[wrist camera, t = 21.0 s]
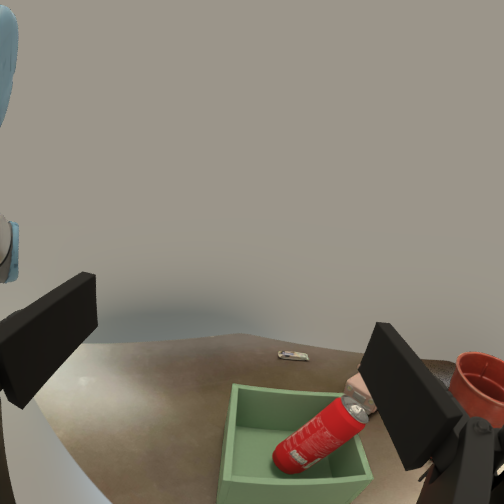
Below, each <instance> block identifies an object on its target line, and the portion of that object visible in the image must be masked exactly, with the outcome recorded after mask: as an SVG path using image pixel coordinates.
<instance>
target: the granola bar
mask: <svg viewBox="0 0 504 504" xmlns="http://www.w3.org/2000/svg"><path fill="white" fill-rule="evenodd" d="M278 354H279V357H281V358H284V359H294V360H309V358H308V357H307V354H304V353H297V352H287V351H281V352H280V351H278Z"/></svg>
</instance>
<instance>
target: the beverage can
mask: <svg viewBox="0 0 504 504" xmlns="http://www.w3.org/2000/svg"><path fill="white" fill-rule="evenodd" d="M368 421H369V419H368V416H367V414H366V412H365V411H364V409H363V408H362V407H361V406H360V404H359V403H358V402H356V401H355V400H354V399H353V398H351V397H350V396H348V395H342V396H341V397H339V398H336V399H335V400H334V401H333V402H331V403H330V404H329V405H328V406H327V407H326V408H324V409H323V410H322V411H321V412H320V413H318V414H317V415H316V416H315V417H314V418H312V419H311V420H310V421H309V422H307V423H306V424H305V425H303V426H302V427H301V428H300V429H298V430H297V431H296V432H294V433H293V434H292V435H290V436H289V437H288V438H286V439H285V440H283V441H282V442H281V443H279V444H278V445H277V446H276V448H275V450H274V451H273V453H272V459H273V462H274V464H275V465H276V467H277V468H278V469H279V470H280V471H281V472H283V473H285V474H288V475H292V474H296V473H301V472H303V471H305V470H306V469H308V468H309V467H311V466H313V465H314V464H316V463H317V462H319V461H320V460H322V459H323V458H325V457H326V456H328V455H329V454H330V453H332V452H333V451H335V450H336V449H338V448H339V447H340V446H342V445H343V444H344V443H346V442H347V441H348V440H350V439H351V438H352V437H354V436H355V435H356V434H357V433H359V432H360V431H361V430H362V429H364V427H365V425H366V424H367V423H368Z"/></svg>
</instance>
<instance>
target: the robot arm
mask: <svg viewBox="0 0 504 504" xmlns="http://www.w3.org/2000/svg"><path fill="white" fill-rule="evenodd" d="M17 50H18V26H17V21H16V17H15V15H14V14H13V13H12V12H11V10H10V9H9V8H8V7H6V6H3V5H0V127H1V124H2V122H3V120H4V117H5V114H6V111H7V107H8V103H9V99H10V95H11V90H12V84H13V82H12V78H13V74H14V72H15V68H16V60H17ZM18 243H19V226H18V224H17V223H16V222H12V221H9V222H7V220H6V219H5V217H4V216H3V215H2V214H1V213H0V283H7V282H12V281H15V280H16V279H17V278H18ZM97 326H98V321H97V305H96V275H95V274H90V273H87V272H81V273H79V274H78V275H76V276H74V277H73V278H71V279H70V280H68V281H66V282H65V283H63V284H61V285H60V286H58V287H57V288H55V289H53V290H52V291H50V292H49V293H47V294H46V295H44V296H43V297H41V298H39V299H38V300H37V301H35V302H33V303H32V304H30V305H29V306H27V307H26V308H24V309H21V310H18V311H15V312H14V313H12V314H11V315H9V316H8V317H7V318H6V319H3V320H2V321H0V391H1V390H2V389H3V390H4V392H5V394H6V397H7V399H8V401H9V402H11V403H12V404H14V405H16V406H17V407H19V408H21V409H22V410H23V408H24V407H25V406H26V405H27V404H28V403H29V401H30V400H31V399H32V398H33V397H34V396H35V394H36V393H37V392H38V391H39V390H40V389H41V387H42V386H43V385H44V384H45V383H46V382H47V381H48V379H49V378H50V377H51V376H52V375H53V374H54V373H55V372H56V370H57V369H58V368H59V367H60V366H61V365H62V364H63V363H64V362H65V361H66V359H67V358H68V357H69V356H70V355H71V354H72V353H73V352H74V351H75V350H76V349H77V348H78V347H79V345H80V344H81V343H82V342H83V341H84V340H85V339H86V338H87V337H88V336H89V335H90V334H91V333H92V332H93V331H94V330H95V329H96V328H97ZM358 371H359V373H360V375H361V377H362V379H363V381H364V383H365V385H366V387H367V389H368V391H369V393H370V395H371V397H372V399H373V401H374V403H375V405H376V407H377V410H378V412H379V414H380V416H381V418H382V420H383V422H384V424H385V426H386V429H387V431H388V433H389V435H390V437H391V439H392V442H393V444H394V446H395V448H396V450H397V453H398V455H399V457H400V459H401V461H402V464H403V466H404V468H405V471H409V470H413V469H417V468H421V467H422V466H423V465H424V464H425V463H426V462H427V461H428V460H429V459H430V457H431V458H432V460H433V462H434V463H433V464H432V465H431V466H430V468H429V469H428V470H427V471H426V472H425V473H424V474H423V475H422V476H421V477H420V478H419V480H418V481H419V482H420V481H421V480H422V479H423V478H424V477H426V479H425V482H424V485H423V488H422V490H421V493H420V496H419V498H418V501H417V503H416V504H504V471H503V472H502V473H501V474H500V475H498V474H497V470H498V469H499V468H500V467H501V466H502V465H503V464H504V425H503V426H502V427H501V428H493V427H492V425H491V424H490V423H489V422H488V421H487V420H486V419H484V418H482V417H477V416H475V417H471V418H470V417H469V415H468V414H467V413H466V411H465V410H464V409H463V407H462V406H461V405H460V403H459V402H458V401H457V400H456V398H455V397H453V394H452V393H451V392H450V391H448V390H449V389H448V388H447V387H446V386H445V384H444V383H443V382H442V381H441V380H439V379H438V378H437V377H435V376H434V375H433V374H432V373H431V372H430V371H429V369H428V368H427V367H426V366H425V364H424V363H423V362H422V361H421V360H420V358H419V357H418V356H417V355H416V354H415V352H414V351H413V350H412V349H411V348H410V346H409V345H408V344H407V343H406V342H405V340H404V339H403V338H402V337H401V336H400V335H399V334H398V332H397V331H396V330H395V329H394V328H393V326H392V325H391V324H390V323H381V322H376V325H375V328H374V330H373V333H372V336H371V339H370V341H369V343H368V346H367V349H366V351H365V353H364V356H363V358H362V361H361V363H360V365H359V368H358ZM0 504H16V503H15V499H14V495H13V491H12V486H11V482H10V477H9V472H8V466H7V460H6V454H5V447H4V439H3V428H2V412H1V399H0Z"/></svg>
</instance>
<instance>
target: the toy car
mask: <svg viewBox="0 0 504 504" xmlns="http://www.w3.org/2000/svg"><path fill="white" fill-rule="evenodd" d="M359 365H360V364H359ZM359 365H358V366H357V368H359ZM343 394H344V395H348V396H350V397H351V398H353V399H354V400H355V401H356V402H358V403H359V404H360V406H361V407H362V408H363V409H364V411H365V412H366V414H368V415H369V414H370V413H372V412H373V413H375V412H376V411H377V407H376V405H375V403H374V401H373V399H372V397H371V395H370V393H369V391H368V389H367V387H366V385H365V383H364V381H363V379H362V377H361V375H360V373H358V374H356V375H355V376H353V377H352V378H350V379H349V380H347V382H346V385H345V389H344V393H343Z"/></svg>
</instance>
